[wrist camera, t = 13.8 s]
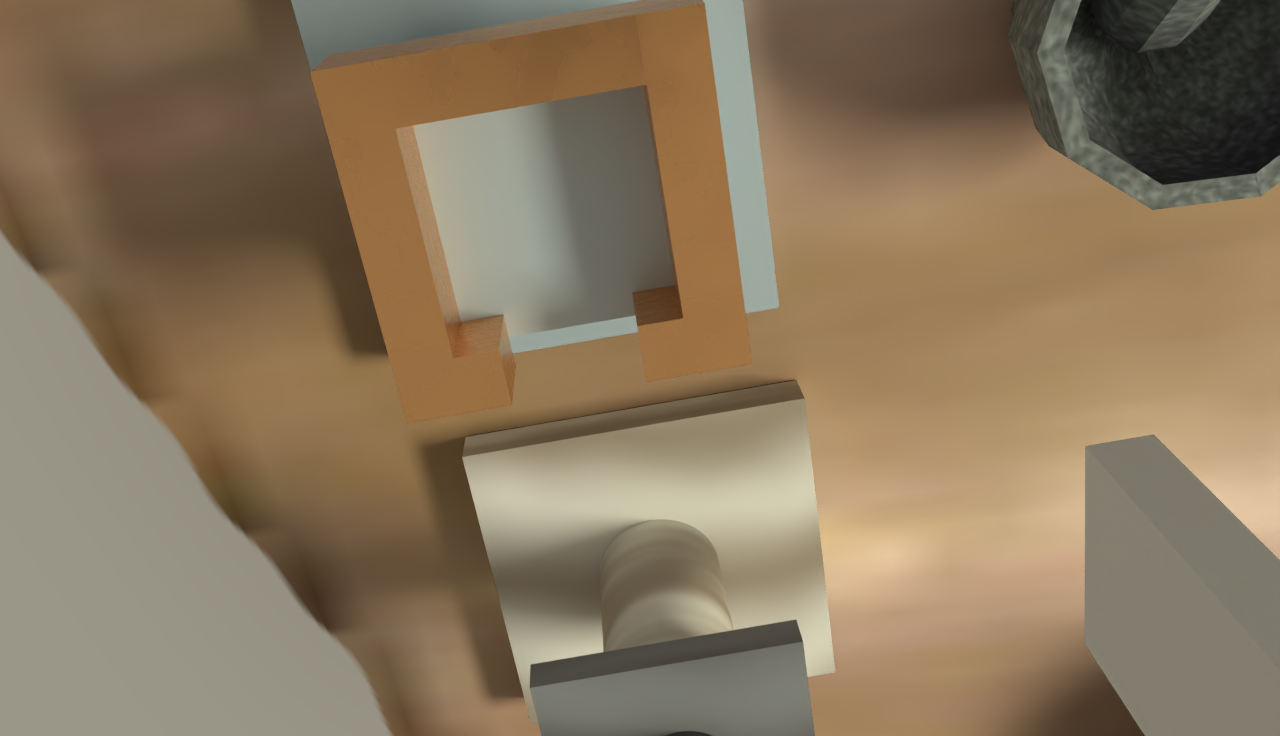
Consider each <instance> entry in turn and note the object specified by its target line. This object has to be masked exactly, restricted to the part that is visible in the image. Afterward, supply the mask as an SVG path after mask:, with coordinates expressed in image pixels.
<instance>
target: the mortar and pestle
mask: <svg viewBox="0 0 1280 736" xmlns="http://www.w3.org/2000/svg"><path fill="white" fill-rule="evenodd" d="M1012 14H1013V21H1012V24H1011V27H1010V30H1009V33H1008V38H1009V42H1010V45H1011V48H1012V52H1013V55H1014V58H1015V61H1016V65H1017V68H1018V71H1019V75H1020V78H1021V81H1022V85H1023V88H1024V91H1025V94H1026V98H1027V101H1028V104H1029V108H1030V111H1031V114H1032V117H1033V121H1034V124H1035V127H1036V129H1037V131H1038V132H1039V133H1040V135H1041V136H1042V137H1043V139H1044V140H1045V141H1046V143H1047V144H1048V145H1049V146H1050V147H1051V148H1053V149H1055V150H1056V151H1058V152H1059V153H1061V154H1063V155H1064V156H1066V157H1068V158H1069V159H1071V160H1072V161H1074V162H1076V163H1077V164H1079V165H1081V166H1082V167H1084V168H1085V169H1087V170H1089V171H1090V172H1092V173H1094V174H1095V175H1097V176H1098V177H1100V178H1102V179H1103V180H1105V181H1107V182H1108V183H1110V184H1111V185H1113V186H1115V187H1116V188H1118V189H1120V190H1121V191H1123V192H1124V193H1126V194H1128V195H1129V196H1131V197H1133V198H1134V199H1136V200H1138V201H1139V202H1141V203H1142V204H1144V205H1146V206H1147V207H1149V208H1151V209H1152V210H1155V209H1163V208H1171V207H1179V206H1187V205H1195V204H1203V203H1211V202H1219V201H1227V200H1235V199H1243V198H1251V197H1259V196H1262V195H1263V194H1265V193H1266V192H1267V191H1268V190H1270V189H1271V188H1272V187H1274V186H1275V185H1276V184H1278V183H1279V182H1280V0H1015V2H1014V5H1013V8H1012Z"/></svg>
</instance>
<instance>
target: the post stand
mask: <svg viewBox="0 0 1280 736" xmlns="http://www.w3.org/2000/svg"><path fill="white" fill-rule="evenodd" d="M462 458H463V462H464V466H465V470H466V474H467V478H468V482H469V486H470V489H471V493H472V497H473V501H474V505H475V509H476V513H477V517H478V520H479V524H480V528H481V532H482V536H483V540H484V544H485V548H486V551H487V555H488V559H489V563H490V567H491V571H492V575H493V579H494V583H495V586H496V590H497V594H498V598H499V602H500V606H501V610H502V614H503V617H504V621H505V625H506V629H507V633H508V637H509V641H510V645H511V648H512V652H513V656H514V660H515V664H516V668H517V672H518V676H519V679H520V683H521V687H522V691H523V695H524V699H525V703H526V707H527V710H528V714H529V718H530V722H531V723H537V722H538V723H539V727H540V731H541V735H542V736H815V733H814V725H813V717H812V709H811V701H810V693H809V685H808V677H810V676H816V675H821V674H827V673H833V672H835V665H834V656H833V647H832V638H831V630H830V621H829V612H828V603H827V594H826V585H825V576H824V567H823V558H822V549H821V540H820V532H819V523H818V514H817V505H816V496H815V487H814V478H813V469H812V460H811V451H810V443H809V434H808V425H807V416H806V407H805V398H804V396H803V394H802V391H801V389H800V387H799V385H798V382H797V380H794V381H789V382H783V383H777V384H771V385H765V386H759V387H754V388H748V389H742V390H736V391H730V392H724V393H719V394H713V395H707V396H701V397H695V398H690V399H684V400H678V401H672V402H666V403H660V404H655V405H649V406H643V407H637V408H631V409H626V410H620V411H614V412H608V413H602V414H596V415H591V416H585V417H579V418H573V419H567V420H562V421H556V422H550V423H544V424H538V425H532V426H527V427H521V428H515V429H509V430H503V431H497V432H492V433H486V434H480V435H474V436H468V437H465V443H464V449H463V455H462Z"/></svg>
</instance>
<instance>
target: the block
mask: <svg viewBox="0 0 1280 736" xmlns="http://www.w3.org/2000/svg"><path fill="white" fill-rule="evenodd" d="M633 1H638V0H291V2H292V5H293V9H294V13H295V16H296V20H297V23H298V27H299V31H300V34H301V38H302V41H303V45H304V49H305V52H306V56H307V60H308V63H309V67H310V70H311V71H312V70H313V69H314V68H315V67H316V66H317V65H319V64H320V63H321V62H322V61H323V60H324V59H325V58H327V57H328V56H329V55H331V54H336V53H342V52H348V51H354V50H359V49H365V48H371V47H376V46H382V45H388V44H393V43H399V42H405V41H410V40H416V39H422V38H428V37H433V36H439V35H445V34H450V33H456V32H462V31H467V30H473V29H479V28H484V27H490V26H496V25H502V24H507V23H513V22H519V21H524V20H530V19H536V18H541V17H547V16H553V15H559V14H564V13H570V12H576V11H581V10H587V9H593V8H598V7H604V6H610V5H615V4H621V3H627V2H633ZM703 2H704V3H705V9H706V16H707V24H708V32H709V39H710V47H711V54H712V62H713V70H714V77H715V85H716V92H717V100H718V108H719V115H720V123H721V130H722V138H723V146H724V153H725V161H726V168H727V176H728V183H729V191H730V199H731V206H732V214H733V221H734V229H735V237H736V244H737V252H738V259H739V267H740V275H741V282H742V290H743V297H744V305H745V312H746V313H751V312H757V311H762V310H768V309H774V308H779V302H778V293H777V285H776V276H775V268H774V259H773V251H772V242H771V234H770V226H769V217H768V209H767V200H766V192H765V183H764V175H763V166H762V158H761V149H760V141H759V133H758V124H757V116H756V107H755V99H754V90H753V82H752V73H751V65H750V56H749V48H748V40H747V31H746V23H745V14H744V6H743V0H703ZM413 127H414V132H415V136H416V140H417V144H418V148H419V152H420V156H421V160H422V164H423V168H424V172H425V176H426V181H427V185H428V189H429V193H430V197H431V201H432V205H433V209H434V213H435V217H436V221H437V226H438V230H439V234H440V238H441V242H442V246H443V250H444V254H445V258H446V262H447V266H448V270H449V275H450V279H451V283H452V287H453V291H454V295H455V299H456V303H457V307H458V311H459V315H460V320H461V322H463V321H469V320H475V319H480V318H486V317H492V316H498V315H503V314H504V318H505V322H506V327H507V331H508V335H509V340H510V344H511V349H512V353H519V352H525V351H531V350H536V349H542V348H548V347H554V346H560V345H565V344H571V343H577V342H583V341H589V340H594V339H600V338H606V337H612V336H618V335H623V334H629V333H635V332H638V328H637V322H636V315H635V309H634V302H633V296H632V292H637V291H642V290H648V289H654V288H660V287H665V286H671V285H675V283H674V277H673V271H672V264H671V258H670V252H669V245H668V239H667V233H666V226H665V220H664V214H663V207H662V201H661V195H660V188H659V182H658V176H657V169H656V163H655V157H654V150H653V144H652V138H651V131H650V125H649V119H648V112H647V106H646V100H645V93H644V87H643V85H642V86H636V87H631V88H625V89H619V90H613V91H608V92H602V93H596V94H591V95H585V96H579V97H573V98H568V99H562V100H556V101H550V102H545V103H539V104H533V105H528V106H522V107H516V108H510V109H505V110H499V111H493V112H488V113H482V114H476V115H470V116H465V117H459V118H453V119H448V120H442V121H436V122H430V123H425V124H419V125H413Z"/></svg>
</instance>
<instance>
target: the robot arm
mask: <svg viewBox="0 0 1280 736" xmlns="http://www.w3.org/2000/svg"><path fill="white" fill-rule="evenodd" d="M1085 645H1086V646H1087V648H1088V649H1089V651H1090V652H1091V654H1092V655H1093V657H1094V659H1095V660H1096V662H1097V663H1098V665H1099V666H1100V668H1101V669H1102V671H1103V672H1104V674H1105V675H1106V677H1107V678H1108V680H1109V682H1110V683H1111V685H1112V686H1113V688H1114V689H1115V691H1116V692H1117V694H1118V695H1119V697H1120V698H1121V700H1122V701H1123V703H1124V705H1125V706H1126V708H1127V709H1128V711H1129V712H1130V714H1131V715H1132V717H1133V718H1134V720H1135V721H1136V723H1137V724H1138V726H1139V728H1140V729H1141V731H1142V732H1143V734H1144V735H1145V736H1280V560H1279V559H1278V558H1277V557H1276V556H1275V555H1274V554H1273V553H1272V552H1271V551H1270V550H1269V549H1268V548H1267V547H1266V546H1265V545H1264V544H1263V543H1262V542H1261V541H1260V540H1259V539H1258V538H1257V537H1256V536H1255V535H1254V534H1253V533H1252V532H1251V531H1250V530H1249V529H1248V528H1247V527H1246V526H1245V525H1244V524H1243V523H1242V522H1241V521H1240V520H1239V519H1238V518H1237V517H1236V516H1235V515H1234V514H1233V513H1232V512H1231V511H1230V510H1229V509H1228V508H1227V507H1226V506H1225V505H1224V504H1223V503H1222V502H1221V501H1220V500H1219V499H1218V498H1217V497H1216V496H1215V495H1214V494H1213V493H1212V492H1211V491H1210V490H1209V489H1208V488H1207V487H1206V486H1205V485H1204V484H1203V483H1202V482H1201V481H1200V480H1199V479H1198V478H1197V477H1196V476H1195V475H1194V474H1193V473H1192V472H1191V471H1190V470H1189V469H1188V468H1187V467H1186V466H1185V465H1184V464H1183V463H1182V462H1181V461H1180V460H1179V459H1178V458H1177V457H1176V456H1175V455H1174V454H1173V453H1172V452H1171V451H1170V450H1169V449H1168V448H1167V447H1166V446H1165V445H1164V444H1163V443H1162V442H1161V441H1160V440H1159V439H1158V438H1157V437H1156V436H1155V435H1148V436H1142V437H1136V438H1131V439H1125V440H1119V441H1113V442H1107V443H1101V444H1095V445H1089V446H1085Z"/></svg>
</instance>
